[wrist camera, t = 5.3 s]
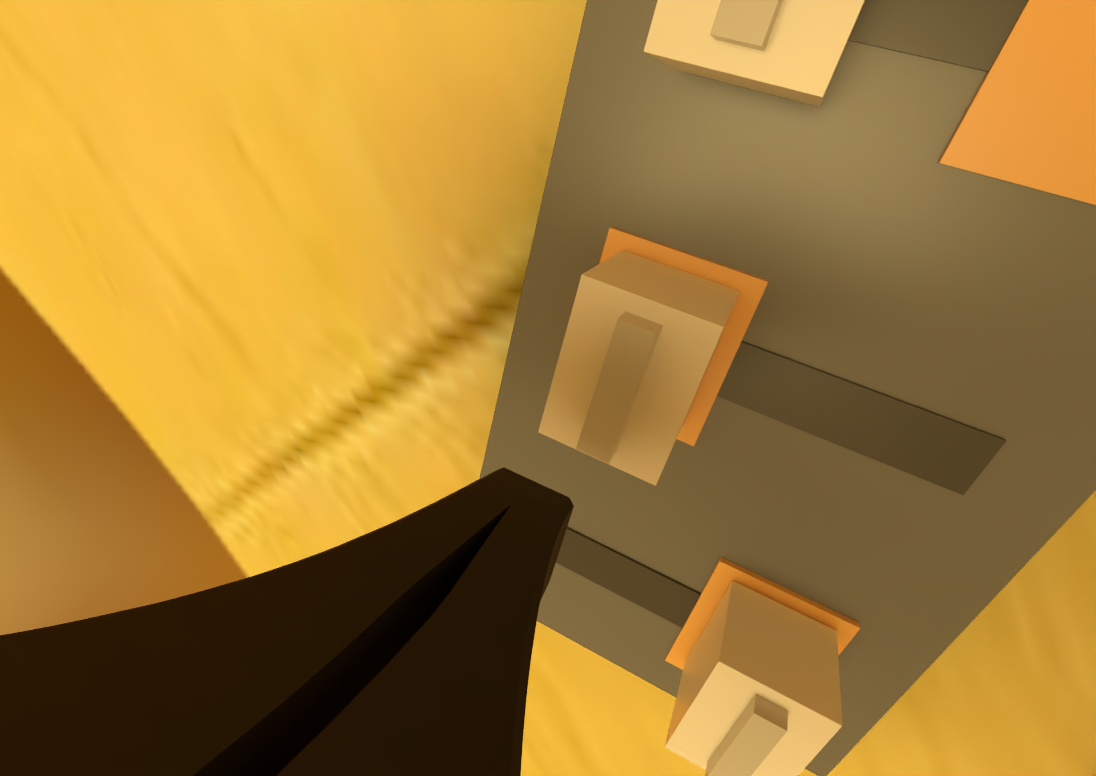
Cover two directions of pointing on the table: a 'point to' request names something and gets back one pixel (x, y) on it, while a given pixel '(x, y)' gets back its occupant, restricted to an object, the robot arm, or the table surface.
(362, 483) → the table surface
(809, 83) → the switch
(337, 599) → the robot arm
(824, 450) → the switch board
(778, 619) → the switch
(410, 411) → the table surface
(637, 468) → the switch
